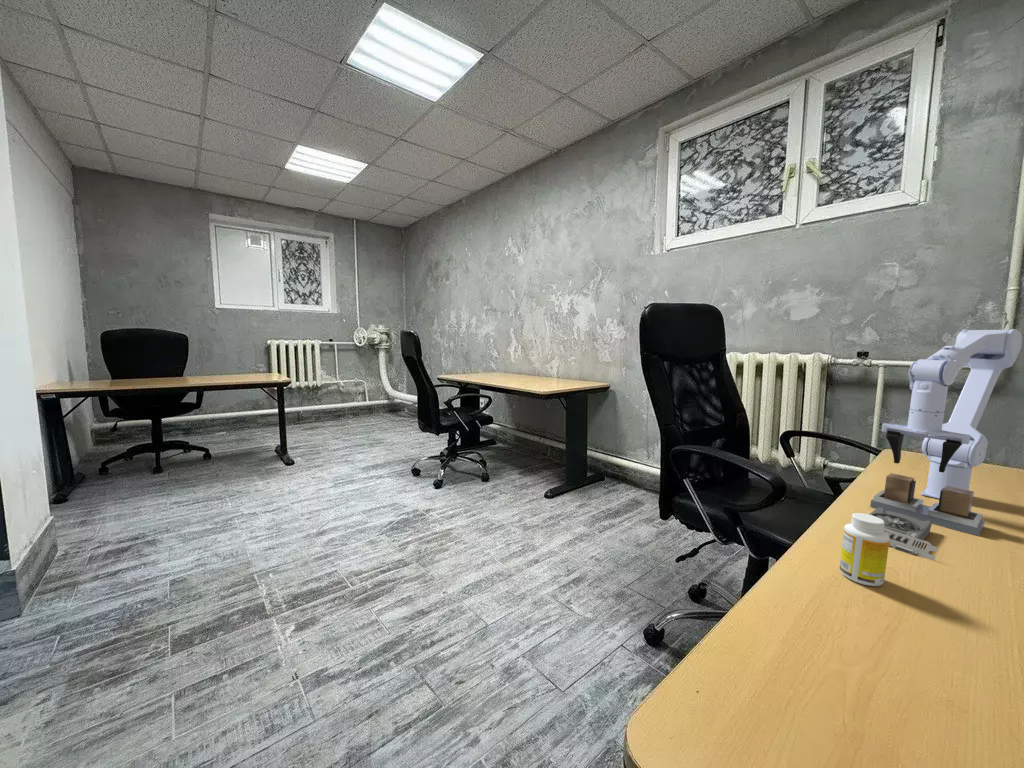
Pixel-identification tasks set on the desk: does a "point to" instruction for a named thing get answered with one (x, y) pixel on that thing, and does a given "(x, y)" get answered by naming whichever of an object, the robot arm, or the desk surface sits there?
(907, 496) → the walnut block
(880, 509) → the graphics card
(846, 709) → the desk surface
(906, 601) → the desk surface
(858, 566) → the supplement bottle
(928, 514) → the grey block holder
